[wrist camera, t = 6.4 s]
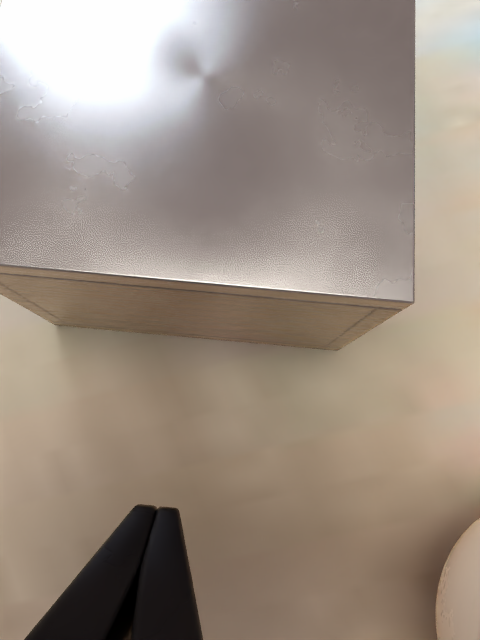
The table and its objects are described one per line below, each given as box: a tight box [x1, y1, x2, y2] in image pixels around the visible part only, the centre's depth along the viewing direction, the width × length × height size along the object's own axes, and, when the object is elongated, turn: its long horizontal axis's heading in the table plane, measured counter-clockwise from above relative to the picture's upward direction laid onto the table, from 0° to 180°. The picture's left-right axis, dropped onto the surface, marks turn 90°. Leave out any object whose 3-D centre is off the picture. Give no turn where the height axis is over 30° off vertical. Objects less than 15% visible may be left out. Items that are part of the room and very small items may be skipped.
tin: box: [0, 273, 403, 350], centre depth 19 cm, size 13×14×8 cm
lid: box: [0, 0, 415, 309], centre depth 15 cm, size 14×14×1 cm
